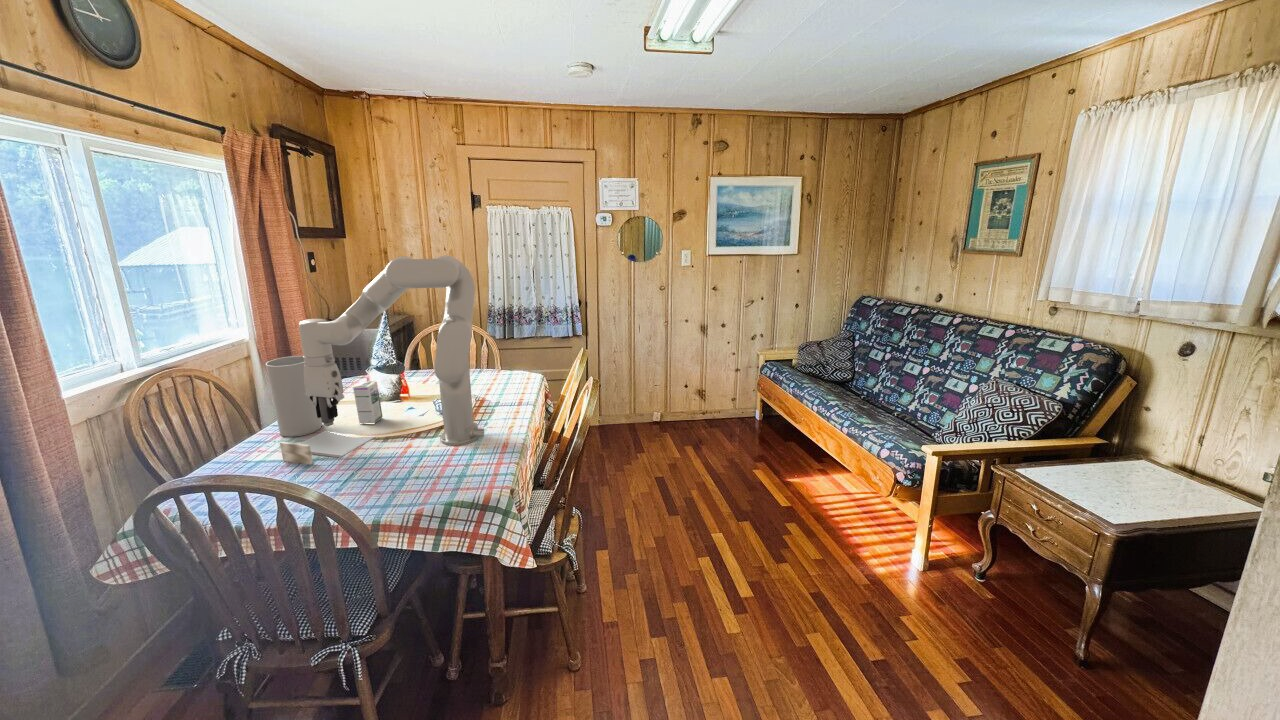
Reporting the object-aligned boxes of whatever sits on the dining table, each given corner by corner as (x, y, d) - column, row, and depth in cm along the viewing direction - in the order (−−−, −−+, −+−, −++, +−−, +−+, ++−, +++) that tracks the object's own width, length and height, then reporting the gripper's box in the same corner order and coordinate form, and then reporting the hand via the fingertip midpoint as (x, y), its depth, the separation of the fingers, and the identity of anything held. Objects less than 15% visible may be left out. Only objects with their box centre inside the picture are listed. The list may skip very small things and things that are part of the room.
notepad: (375, 437, 173) (375, 436, 172) (339, 458, 158) (338, 457, 158) (325, 431, 177) (325, 430, 177) (285, 451, 162) (285, 450, 162)
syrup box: (375, 424, 182) (369, 386, 178) (358, 424, 183) (352, 386, 179) (383, 418, 188) (377, 381, 184) (367, 418, 188) (361, 381, 184)
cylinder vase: (288, 440, 169) (273, 368, 163) (274, 431, 177) (259, 361, 170) (329, 428, 179) (316, 360, 172) (313, 420, 186) (301, 354, 179)
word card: (313, 463, 154) (309, 444, 153) (310, 464, 154) (307, 446, 152) (286, 459, 157) (282, 441, 155) (283, 460, 156) (279, 442, 154)
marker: (337, 422, 161) (332, 387, 158) (329, 427, 158) (323, 390, 155) (328, 421, 162) (322, 386, 158) (319, 426, 158) (313, 389, 155)
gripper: (351, 359, 156) (359, 415, 161) (306, 354, 159) (315, 410, 164) (332, 365, 149) (341, 424, 154) (285, 361, 152) (295, 418, 157)
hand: (327, 416), depth 159 cm, fingers closed on marker, 3 cm apart
